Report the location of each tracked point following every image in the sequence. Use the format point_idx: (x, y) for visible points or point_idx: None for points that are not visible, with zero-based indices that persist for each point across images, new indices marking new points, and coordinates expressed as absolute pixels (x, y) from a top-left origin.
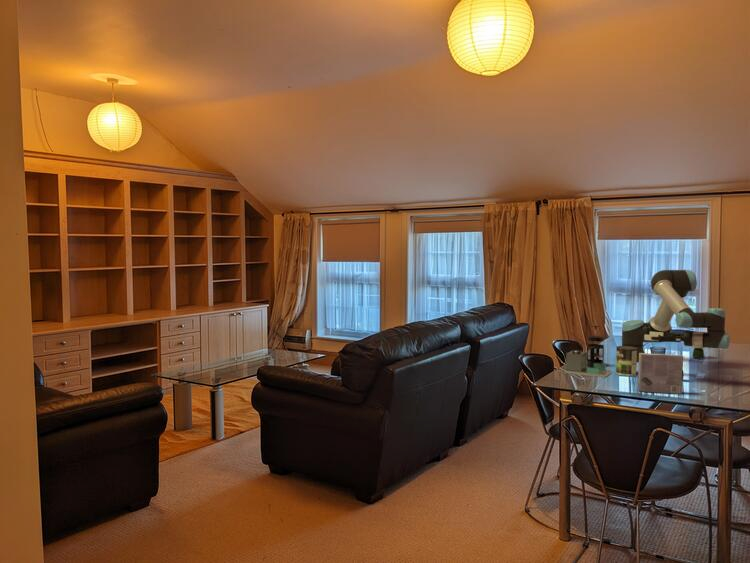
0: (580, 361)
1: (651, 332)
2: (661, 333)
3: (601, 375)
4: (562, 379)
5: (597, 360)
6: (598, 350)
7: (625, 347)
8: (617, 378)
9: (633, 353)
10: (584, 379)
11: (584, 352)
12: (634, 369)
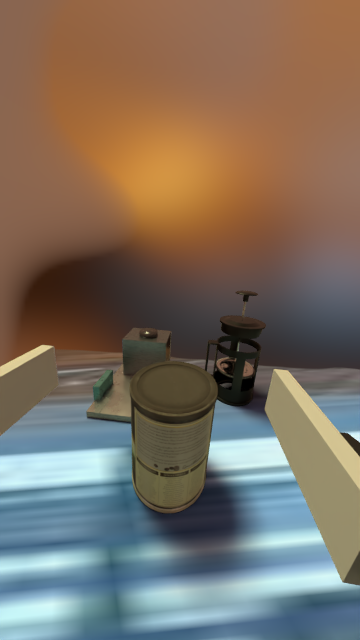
0: (123, 352)
1: (278, 384)
2: (347, 492)
3: (91, 406)
4: (62, 362)
5: (252, 384)
6: (257, 361)
7: (178, 380)
8: (74, 447)
9: (138, 421)
10: (60, 385)
11: (159, 341)
12: (145, 485)
